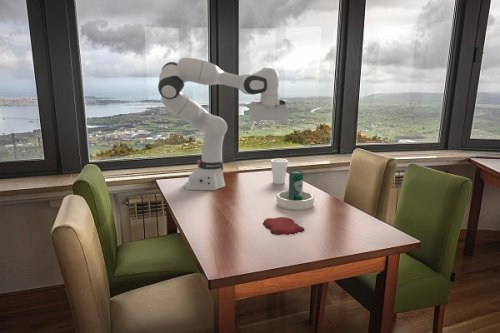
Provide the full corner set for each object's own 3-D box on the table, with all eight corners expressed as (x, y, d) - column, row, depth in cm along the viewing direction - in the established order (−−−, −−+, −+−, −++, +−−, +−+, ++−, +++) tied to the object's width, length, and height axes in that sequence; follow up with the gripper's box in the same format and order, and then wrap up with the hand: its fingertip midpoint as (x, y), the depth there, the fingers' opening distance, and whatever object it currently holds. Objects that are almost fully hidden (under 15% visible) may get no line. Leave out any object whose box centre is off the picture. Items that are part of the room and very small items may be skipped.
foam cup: (286, 185, 209) (286, 162, 206) (269, 184, 211) (270, 161, 208) (287, 180, 218) (288, 159, 215) (272, 180, 220) (272, 158, 217)
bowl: (282, 211, 168) (282, 202, 167) (273, 199, 184) (273, 191, 183) (318, 209, 171) (318, 200, 170) (306, 197, 187) (306, 189, 186)
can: (298, 205, 173) (299, 174, 170) (286, 203, 176) (287, 172, 173) (303, 201, 178) (304, 171, 175) (291, 199, 181) (293, 169, 178)
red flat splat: (307, 233, 146) (308, 228, 145) (275, 238, 141) (275, 233, 141) (288, 218, 162) (288, 213, 161) (258, 222, 157) (258, 217, 157)
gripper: (250, 101, 182) (249, 130, 186) (290, 101, 186) (289, 129, 189) (247, 101, 189) (247, 128, 192) (287, 100, 192) (286, 127, 195)
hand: (268, 128), depth 191 cm, fingers open, 8 cm apart
